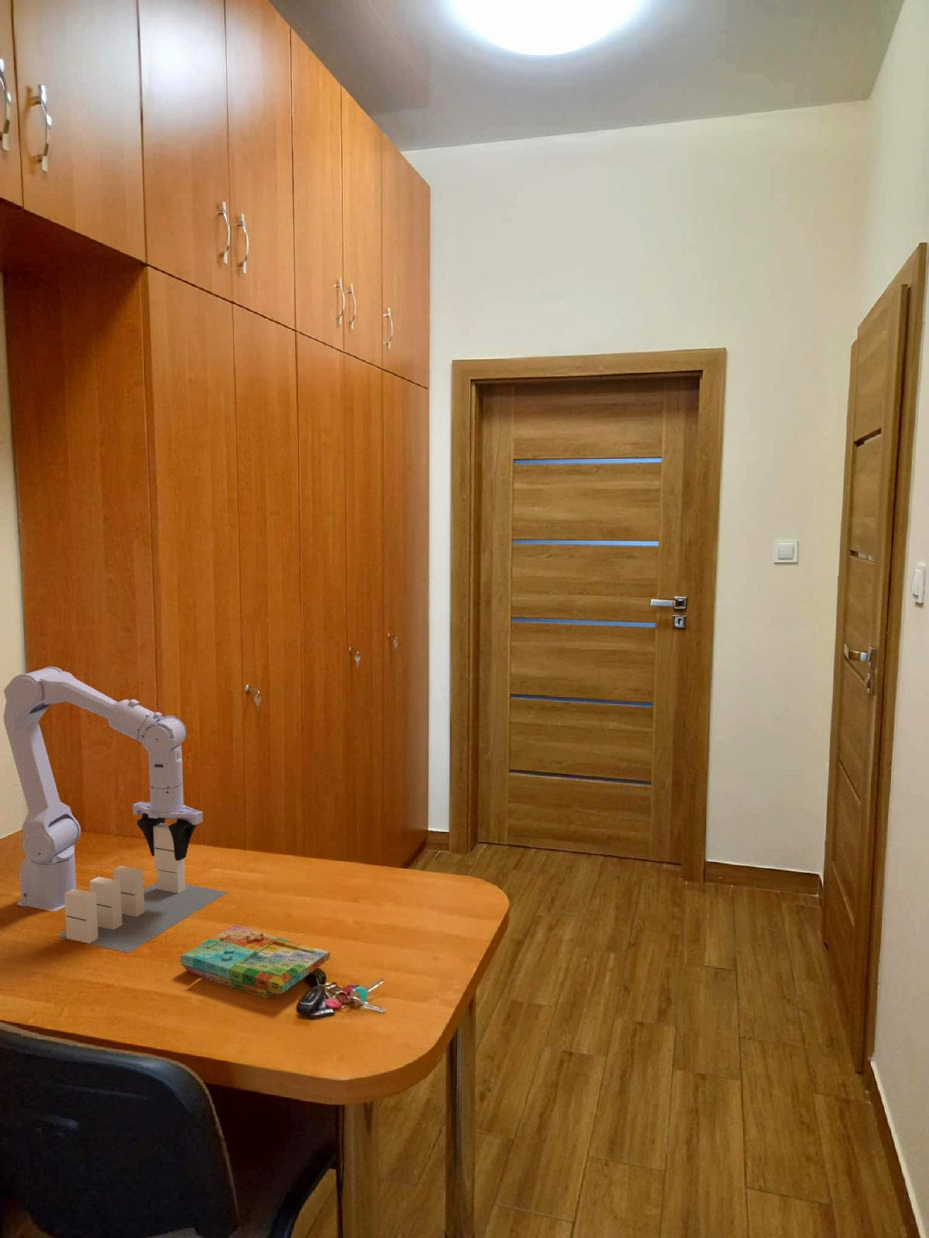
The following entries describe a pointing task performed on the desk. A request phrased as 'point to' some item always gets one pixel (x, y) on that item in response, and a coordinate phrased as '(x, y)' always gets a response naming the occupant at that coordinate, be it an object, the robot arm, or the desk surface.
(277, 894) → the desk surface
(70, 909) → the domino
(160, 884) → the domino
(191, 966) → the puzzle game
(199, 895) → the mat
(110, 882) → the domino
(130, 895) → the domino
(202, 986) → the desk surface
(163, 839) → the domino
